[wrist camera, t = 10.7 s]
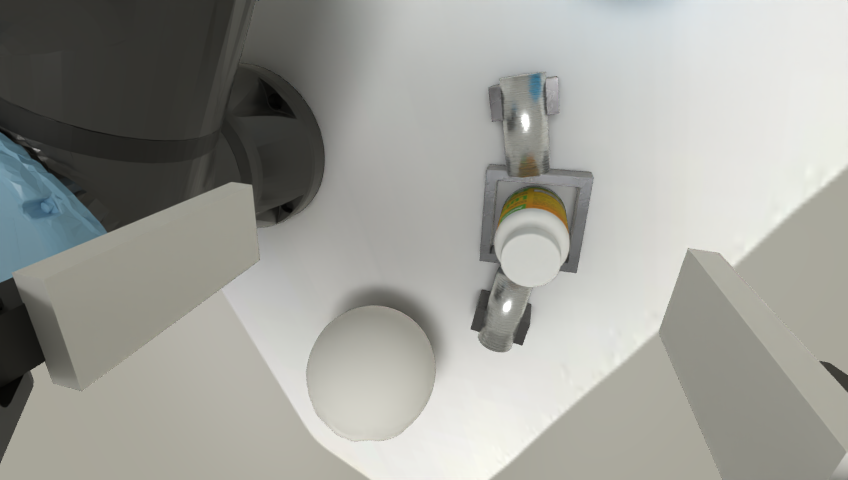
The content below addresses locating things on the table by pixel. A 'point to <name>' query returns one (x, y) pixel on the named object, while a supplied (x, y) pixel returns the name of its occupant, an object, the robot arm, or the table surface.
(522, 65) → the table surface
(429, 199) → the table surface
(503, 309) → the shaft
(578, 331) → the table surface
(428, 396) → the decorative ball
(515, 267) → the supplement bottle
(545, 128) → the shaft
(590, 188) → the collar
